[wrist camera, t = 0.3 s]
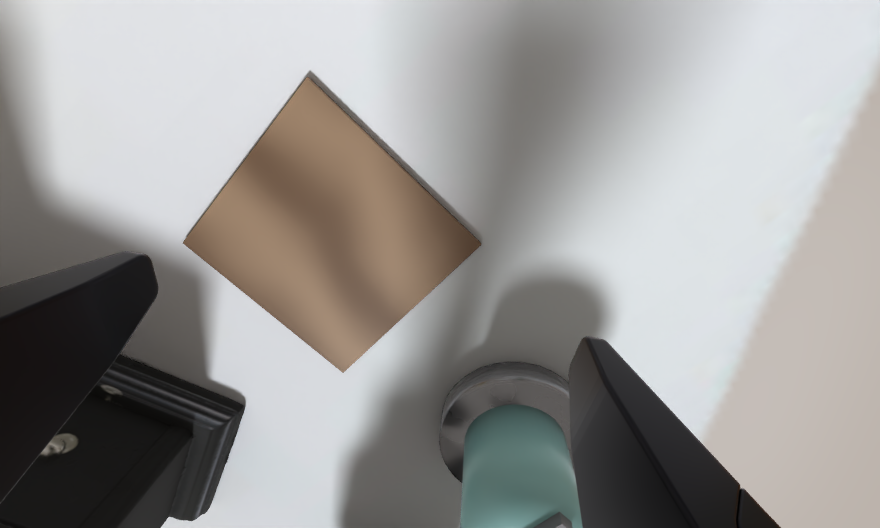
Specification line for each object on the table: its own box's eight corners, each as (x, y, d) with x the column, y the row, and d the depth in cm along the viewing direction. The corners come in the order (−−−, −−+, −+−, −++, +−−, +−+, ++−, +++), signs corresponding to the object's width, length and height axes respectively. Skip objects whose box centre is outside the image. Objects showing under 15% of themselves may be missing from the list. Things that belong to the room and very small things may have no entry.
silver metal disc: (509, 495, 30) (510, 522, 28) (413, 417, 28) (408, 440, 27) (615, 426, 27) (625, 450, 25) (516, 335, 26) (519, 353, 24)
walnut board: (344, 369, 28) (343, 372, 27) (185, 241, 25) (182, 242, 25) (481, 243, 24) (481, 244, 23) (309, 77, 21) (306, 77, 21)
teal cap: (511, 498, 28) (521, 613, 21) (443, 442, 26) (432, 547, 20) (587, 449, 26) (621, 560, 20) (517, 386, 24) (529, 484, 18)
